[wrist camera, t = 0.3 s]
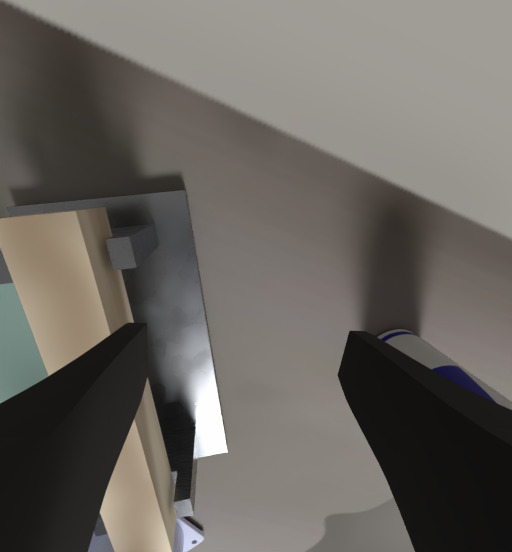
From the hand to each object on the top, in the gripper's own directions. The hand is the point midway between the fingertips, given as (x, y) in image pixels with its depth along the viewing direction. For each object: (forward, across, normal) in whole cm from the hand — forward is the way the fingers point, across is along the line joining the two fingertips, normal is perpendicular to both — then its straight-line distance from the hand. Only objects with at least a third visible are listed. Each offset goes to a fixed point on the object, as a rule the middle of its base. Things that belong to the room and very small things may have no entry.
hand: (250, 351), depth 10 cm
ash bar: (+5, +6, +6) cm, 11 cm away
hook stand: (+10, +6, +7) cm, 14 cm away
